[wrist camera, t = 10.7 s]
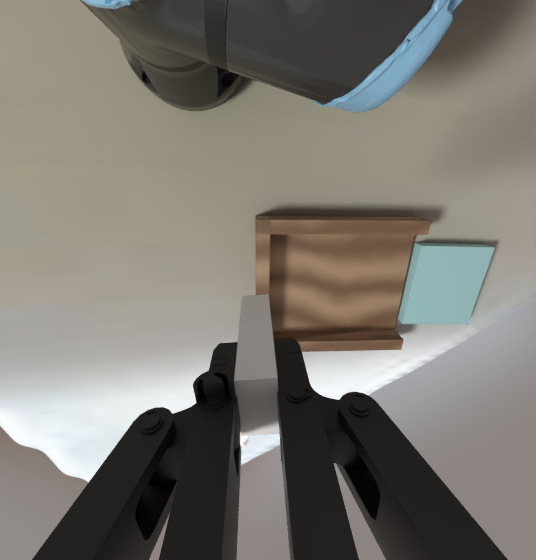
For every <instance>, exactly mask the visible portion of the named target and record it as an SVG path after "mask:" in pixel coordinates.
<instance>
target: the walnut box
mask: <svg viewBox="0 0 536 560" xmlns="http://www.w3.org/2000/svg"><path fill="white" fill-rule="evenodd" d="M430 224H431V221H430V220H426V219H422V218H419V217H392V216H256V295H266V294H269V303H270V312H271V322H272V331H273V339H281V338H294V339H295V340H296V341H297V342H298V343H299V344H300V347H301V351H302V352H309V351H358V350H401V348H402V344H403V339H402V338H401V337H400V335H399V334H398V333H397V332H396V331H395V330H394V329H395V324H396V319H397V315H398V310H399V305H400V301H401V296H402V291H403V287H404V282H405V277H406V273H407V268H408V263H409V259H410V254H411V250H412V245H413V240H414V236H415V235H428V232H429V228H430Z"/></svg>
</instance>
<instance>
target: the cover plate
mask: <svg viewBox="0 0 536 560" xmlns="http://www.w3.org/2000/svg"><path fill="white" fill-rule="evenodd" d="M494 249H495V247H492V246H489V245H486V244H451V243H414V248H413V252H412V256H411V260H410V264H409V269H408V273H407V277H406V281H405V285H404V290H403V294H402V298H401V302H400V306H399V311H398V315H397V319H398V320H399V321H400V322H401V323H402V324H468V322H469V319H470V316H471V314H472V311H473V308H474V305H475V302H476V299H477V297H478V294H479V291H480V288H481V285H482V283H483V280H484V277H485V274H486V271H487V269H488V266H489V263H490V260H491V257H492V254H493V252H494Z"/></svg>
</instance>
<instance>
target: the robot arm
mask: <svg viewBox="0 0 536 560" xmlns="http://www.w3.org/2000/svg"><path fill="white" fill-rule="evenodd" d="M80 1H81V2H82V3H83V4H84V5H85V6H86V7H87V8H88V9H89V10H90V11H91V12H92V13H93V14H94V15H95V16H96V17H97V18H99V19H100V20H101V21H102V22H103V23H104V24H105V25H106V26H107V27H108V28H109V29H110V30H111V31H112V32H113V33H114V34H115V35H116V36H117V37H118V38H119V40H120V44H121V47H122V49H123V52H124V54H125V57H126V59H127V61H128V63H129V64H130V66H131V68H132V69H133V71H134V72H135V74H136V75H137V77H138V78H139V79H140V80H141V82H142V83H143V84H144V85H145V86H146V87H147V88H148V89H149V90H150V91H151V92H153V93H154V94H155V95H156V96H157V97H159V98H160V99H161V100H163V101H164V102H166V103H168V104H170V105H172V106H174V107H176V108H179V109H183V110H188V111H203V110H208V109H211V108H214V107H216V106H218V105H220V104H222V103H223V102H225V101H226V100H227V99H228V98H230V97H231V96H232V95H233V93H234V92H235V91H236V90H237V88H238V87H239V85H240V84H241V82H242V80H243V78H244V77H247V78H250V79H253V80H256V81H259V82H262V83H265V84H268V85H271V86H274V87H276V88H279V89H282V90H285V91H288V92H291V93H294V94H297V95H300V96H303V97H305V98H308V99H311V100H313V101H314V103H316V104H317V105H319V106H322V107H324V106H326V107H331V106H332V107H336V108H339V109H343V110H346V111H350V112H355V113H358V112H366V111H370V110H373V109H375V108H377V107H378V106H380V105H382V104H383V103H385V102H386V101H387V100H389V99H390V98H391V97H392V96H394V95H395V94H396V93H397V92H398V91H399V90H400V89H401V88H402V87H403V86H404V85H405V84H406V83H407V82H408V81H409V80H410V79H411V78H412V76H413V75H414V74H415V73H416V72H417V71H418V70H419V68H420V67H421V66H422V65H423V63H424V62H425V61H426V60H427V58H428V57H429V56H430V54H431V53H432V52H433V50H434V49H435V47H436V46H437V45H438V43H439V42H440V40H441V39H442V37H443V36H444V34H445V32H446V31H447V29H448V28H449V26H450V24H451V23H452V21H453V15H452V12H453V11H454V10H455V8H456V7H457V6H458V5H459V4H460V3H461V2H462V1H463V0H80ZM193 388H194V393H195V397H196V402H197V403H196V404H195V405H193V406H192V407H190V408H188V409H186V410H183V411H180V412H177V413H174V414H172V413H171V412H170V410H169V409H166V408H163V407H161V408H153V409H150V410H147V411H146V412H144V413H143V414H141V415H140V416H139V417H138V418H137V419H136V420H135V421H134V422H133V423H132V425H131V426H130V427H129V429H128V430H127V431H126V433H125V434H124V436H123V437H122V438H121V440H120V441H119V442H118V444H117V445H116V446H115V448H114V449H113V450H112V452H111V453H110V455H109V456H108V457H107V459H106V460H105V461H104V463H103V464H102V465H101V467H100V468H99V469H98V471H97V472H96V474H95V475H94V476H93V478H92V479H91V480H90V482H89V483H88V484H87V486H86V487H85V489H84V490H83V491H82V493H81V494H80V495H79V497H78V498H77V499H76V501H75V502H74V503H73V505H72V506H71V507H70V509H69V510H68V512H67V513H66V514H65V516H64V517H63V518H62V520H61V521H60V522H59V524H58V525H57V527H56V528H55V529H54V531H53V532H52V533H51V535H50V536H49V537H48V539H47V540H46V542H45V543H44V544H43V546H42V547H41V548H40V550H39V551H38V552H37V554H36V555H35V556H34V558H33V559H32V560H149V558H150V556H151V553H152V551H153V549H154V547H155V544H156V542H157V540H158V538H159V535H160V533H161V531H162V529H163V526H164V524H165V522H166V520H167V517H168V515H169V513H170V516H169V520H168V524H167V528H166V532H165V536H164V541H163V545H162V549H161V553H160V557H159V560H236V554H237V533H238V511H239V508H238V507H239V487H240V466H241V446H240V431H241V436H248V435H261V434H274V433H280V446H281V461H282V469H283V481H284V492H285V504H286V515H287V526H288V537H289V548H290V559H291V560H359V558H358V555H357V551H356V547H355V544H354V540H353V536H352V532H351V528H350V524H349V520H348V517H347V513H346V509H345V505H344V502H343V497H342V494H341V490H340V486H339V483H338V478H337V475H336V471H335V467H334V463H336V464H337V466H338V468H339V470H340V472H341V474H342V475H343V478H344V479H345V481H346V483H347V485H348V487H349V489H350V491H351V493H352V495H353V497H354V499H355V501H356V503H357V504H358V506H359V508H360V510H361V512H362V514H363V516H364V518H365V520H366V522H367V524H368V526H369V528H370V530H371V531H372V533H373V535H374V537H375V539H376V541H377V543H378V545H379V547H380V549H381V551H382V553H383V555H384V556H385V558H386V560H508V559H507V558H506V557H505V556H504V555H503V554H502V552H501V551H500V550H499V549H498V547H497V546H496V545H495V544H494V543H493V542H492V540H491V539H490V538H489V537H488V536H487V534H486V533H485V532H484V531H483V529H482V528H481V527H480V526H479V525H478V523H477V522H476V521H475V520H474V519H473V517H471V515H470V514H469V513H468V511H467V510H466V509H465V508H464V507H463V505H461V503H460V502H459V501H458V499H457V498H456V497H455V496H454V495H453V493H452V492H451V491H450V490H449V489H448V487H447V486H446V485H445V484H444V483H443V481H442V480H441V479H440V478H439V477H438V475H437V474H436V473H435V472H434V471H433V470H432V468H431V467H430V466H429V465H428V463H427V462H426V461H425V460H424V458H423V457H422V456H421V455H420V454H419V452H418V451H417V450H416V449H415V448H414V446H413V445H412V444H411V443H410V442H409V440H408V439H407V438H406V437H405V436H404V434H403V433H402V432H401V431H400V430H399V428H398V427H397V426H396V425H395V424H394V422H393V421H392V420H391V419H390V418H389V417H388V415H387V414H386V413H385V412H384V410H383V409H382V408H381V407H380V406H379V405H378V403H377V402H376V401H375V400H374V399H373V398H371V397H370V396H368V395H366V394H364V393H359V392H350V393H347V394H345V395H343V396H342V397H341V399H340V400H336V399H331V398H327V397H323V396H321V395H319V394H318V393H317V392H315V391H314V390H313V388H312V387H311V385H310V383H309V379H308V375H307V371H306V367H305V363H304V359H303V355H302V351H301V347H300V344H299V343H298V342H297V341H296V340H295V339H294V338H281V339H273V331H272V322H271V312H270V303H269V294H266V295H251V296H242V303H241V314H240V324H239V334H238V342H234V343H220V344H219V345H218V346H217V347H216V348H215V349H214V351H213V355H212V360H211V364H210V368H209V371H207V372H205V373H203V374H201V375H200V376H199V377H198V378H197V379H196V380H195V382H194V384H193Z"/></svg>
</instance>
